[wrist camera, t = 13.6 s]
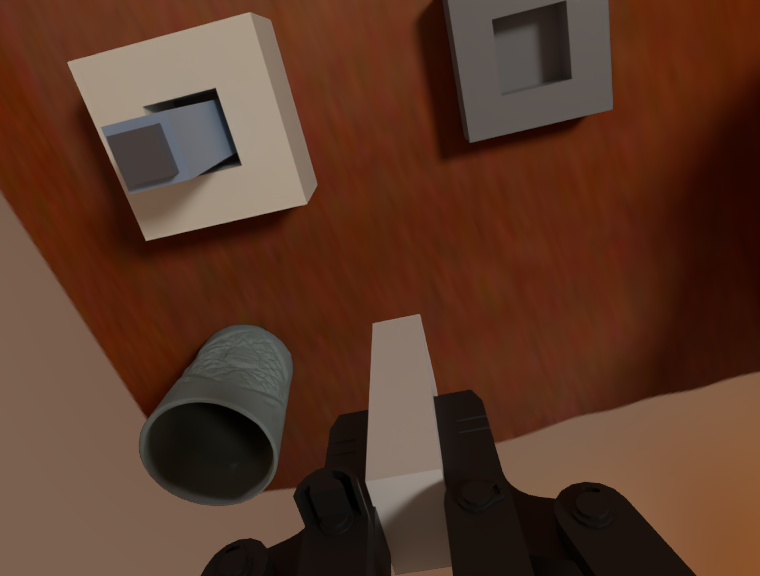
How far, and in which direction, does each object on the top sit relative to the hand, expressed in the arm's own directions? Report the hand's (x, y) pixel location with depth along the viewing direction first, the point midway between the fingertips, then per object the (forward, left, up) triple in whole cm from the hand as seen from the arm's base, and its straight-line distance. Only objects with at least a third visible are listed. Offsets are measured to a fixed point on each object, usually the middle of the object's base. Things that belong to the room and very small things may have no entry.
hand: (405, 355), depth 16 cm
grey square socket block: (-11, -7, -26) cm, 29 cm away
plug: (+12, -7, -25) cm, 29 cm away
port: (+12, -7, -26) cm, 30 cm away
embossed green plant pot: (+17, +14, -27) cm, 35 cm away
